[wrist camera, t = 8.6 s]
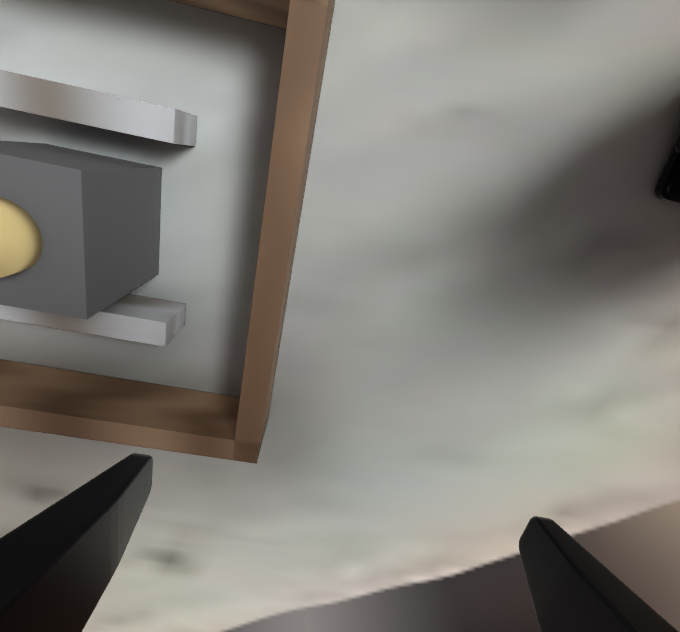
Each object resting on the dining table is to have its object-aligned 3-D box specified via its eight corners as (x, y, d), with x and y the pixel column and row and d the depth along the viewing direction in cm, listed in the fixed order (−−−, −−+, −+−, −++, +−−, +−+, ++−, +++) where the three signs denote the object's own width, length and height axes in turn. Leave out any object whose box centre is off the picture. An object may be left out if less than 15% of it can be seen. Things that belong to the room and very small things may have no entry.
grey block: (162, 168, 17) (64, 170, 11) (158, 273, 19) (72, 328, 13) (45, 143, 17) (-126, 132, 11) (53, 254, 19) (-90, 301, 12)
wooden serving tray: (334, 3, 15) (335, -41, 12) (267, 419, 22) (256, 463, 19) (-168, -124, 14) (-325, -215, 10) (-67, 367, 21) (-142, 406, 18)
